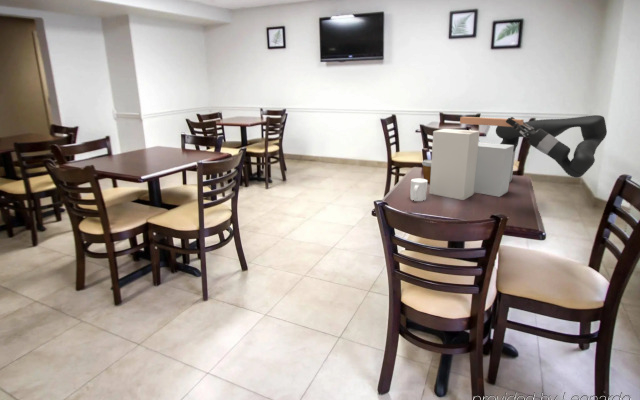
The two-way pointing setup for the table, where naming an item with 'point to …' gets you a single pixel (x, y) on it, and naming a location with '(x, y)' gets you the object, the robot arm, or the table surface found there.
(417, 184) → the mug
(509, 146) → the stepped stand
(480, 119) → the terracotta bar
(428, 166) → the disposable coffee cup
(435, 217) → the table surface
